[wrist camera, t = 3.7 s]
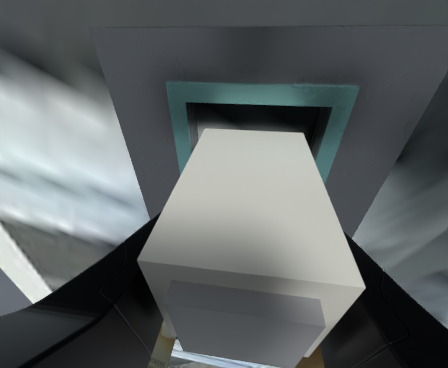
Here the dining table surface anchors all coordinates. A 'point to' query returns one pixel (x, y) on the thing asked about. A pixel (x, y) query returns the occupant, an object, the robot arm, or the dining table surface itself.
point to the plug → (250, 251)
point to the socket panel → (275, 95)
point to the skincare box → (162, 348)
